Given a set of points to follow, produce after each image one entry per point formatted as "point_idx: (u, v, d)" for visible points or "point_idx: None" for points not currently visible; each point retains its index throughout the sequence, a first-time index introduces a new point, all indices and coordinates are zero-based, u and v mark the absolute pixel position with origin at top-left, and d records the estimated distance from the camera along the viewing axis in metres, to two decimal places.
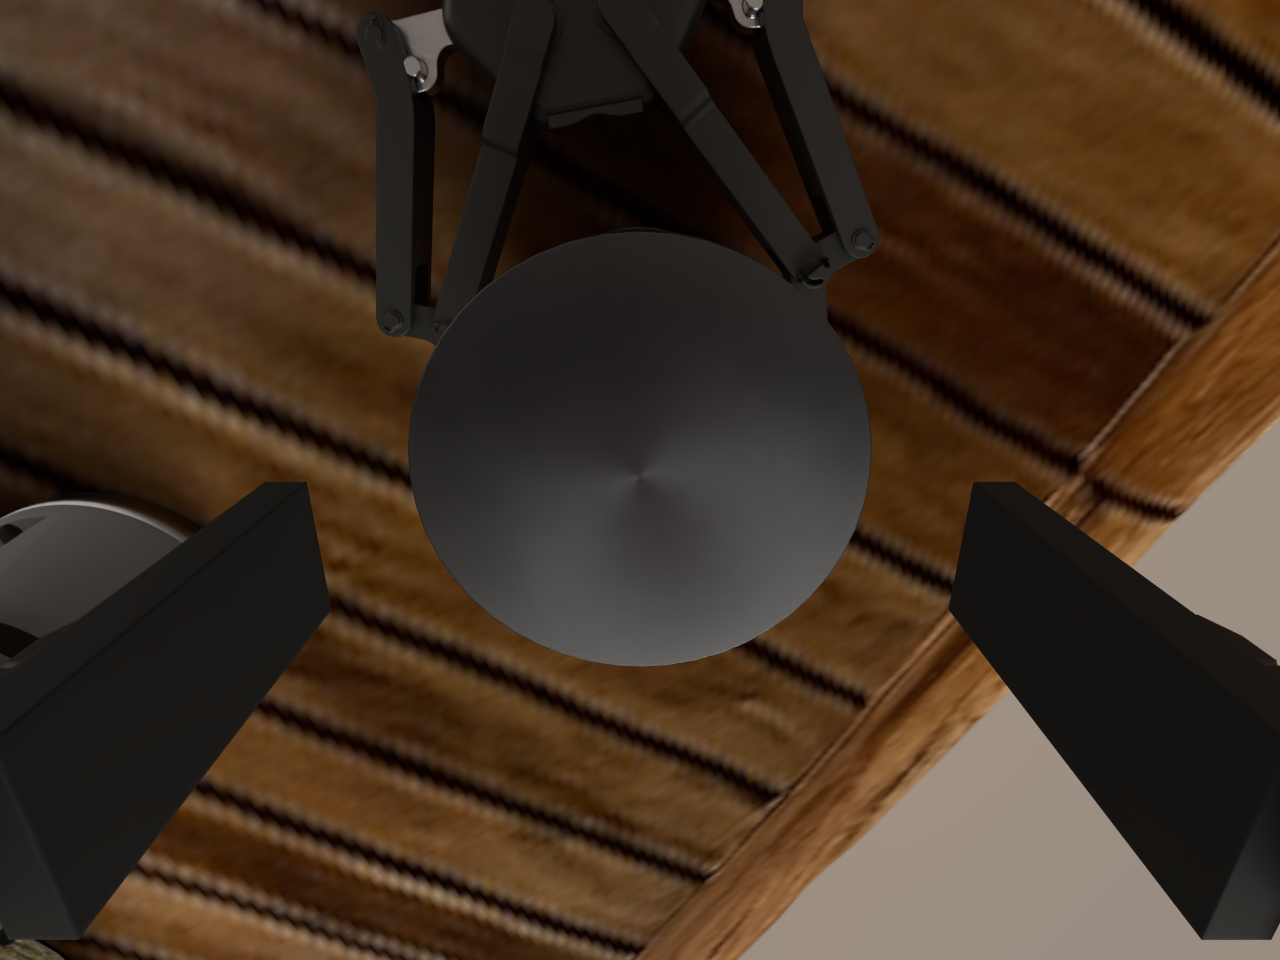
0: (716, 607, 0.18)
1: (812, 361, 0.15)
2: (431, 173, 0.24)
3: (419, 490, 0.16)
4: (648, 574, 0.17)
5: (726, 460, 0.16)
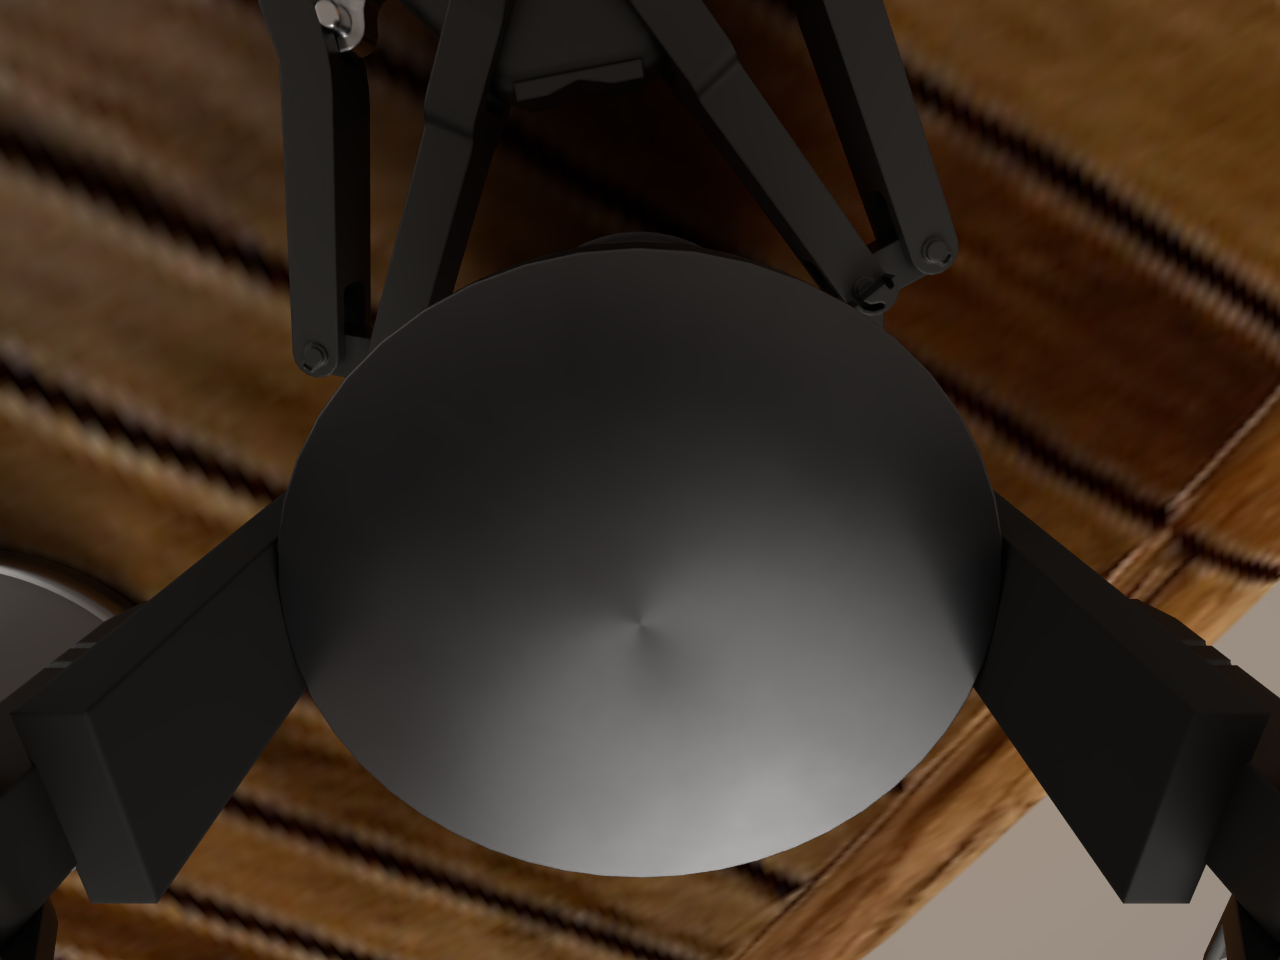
0: (753, 802, 0.12)
1: (917, 455, 0.09)
2: (366, 162, 0.19)
3: (299, 644, 0.11)
4: (652, 759, 0.11)
5: (774, 601, 0.10)
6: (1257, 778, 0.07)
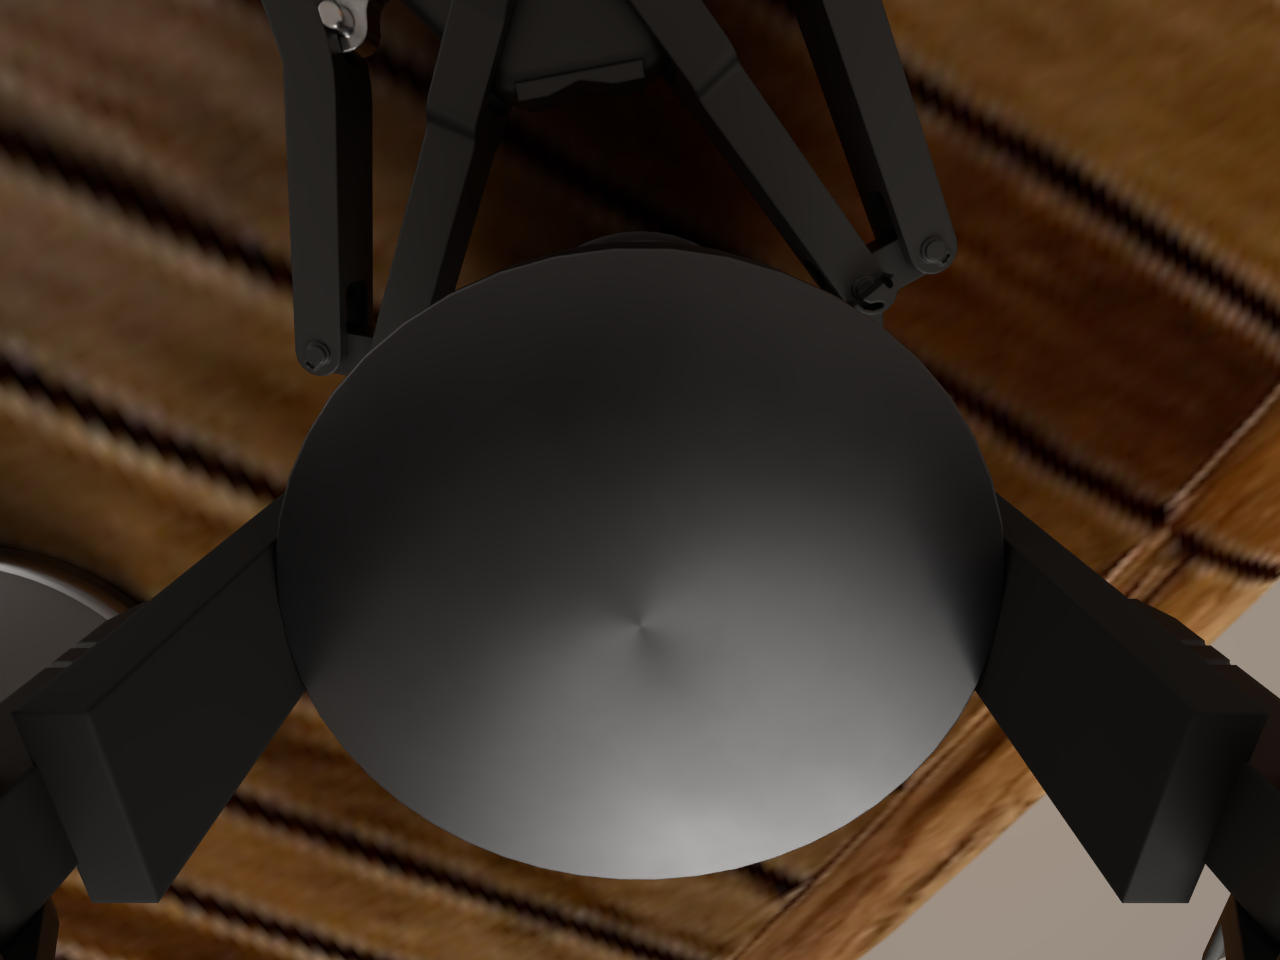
0: (911, 620, 0.10)
1: (584, 314, 0.09)
2: (368, 162, 0.19)
3: (523, 857, 0.12)
4: (795, 681, 0.11)
5: (680, 506, 0.10)
6: (1255, 777, 0.07)
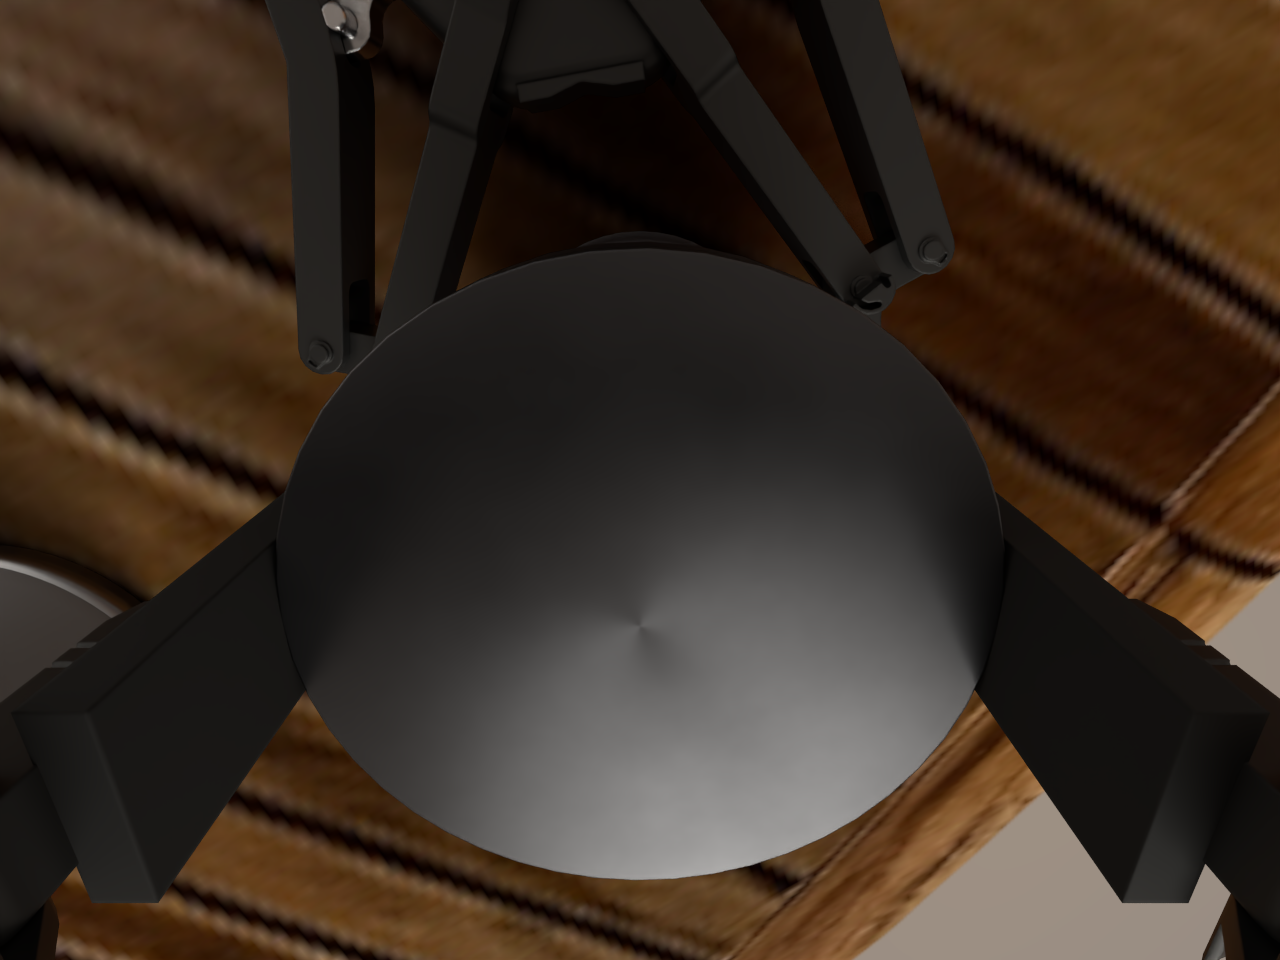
0: (774, 387, 0.09)
1: (329, 539, 0.10)
2: (371, 162, 0.19)
3: (834, 824, 0.12)
4: (781, 524, 0.10)
5: (535, 543, 0.10)
6: (1255, 777, 0.07)
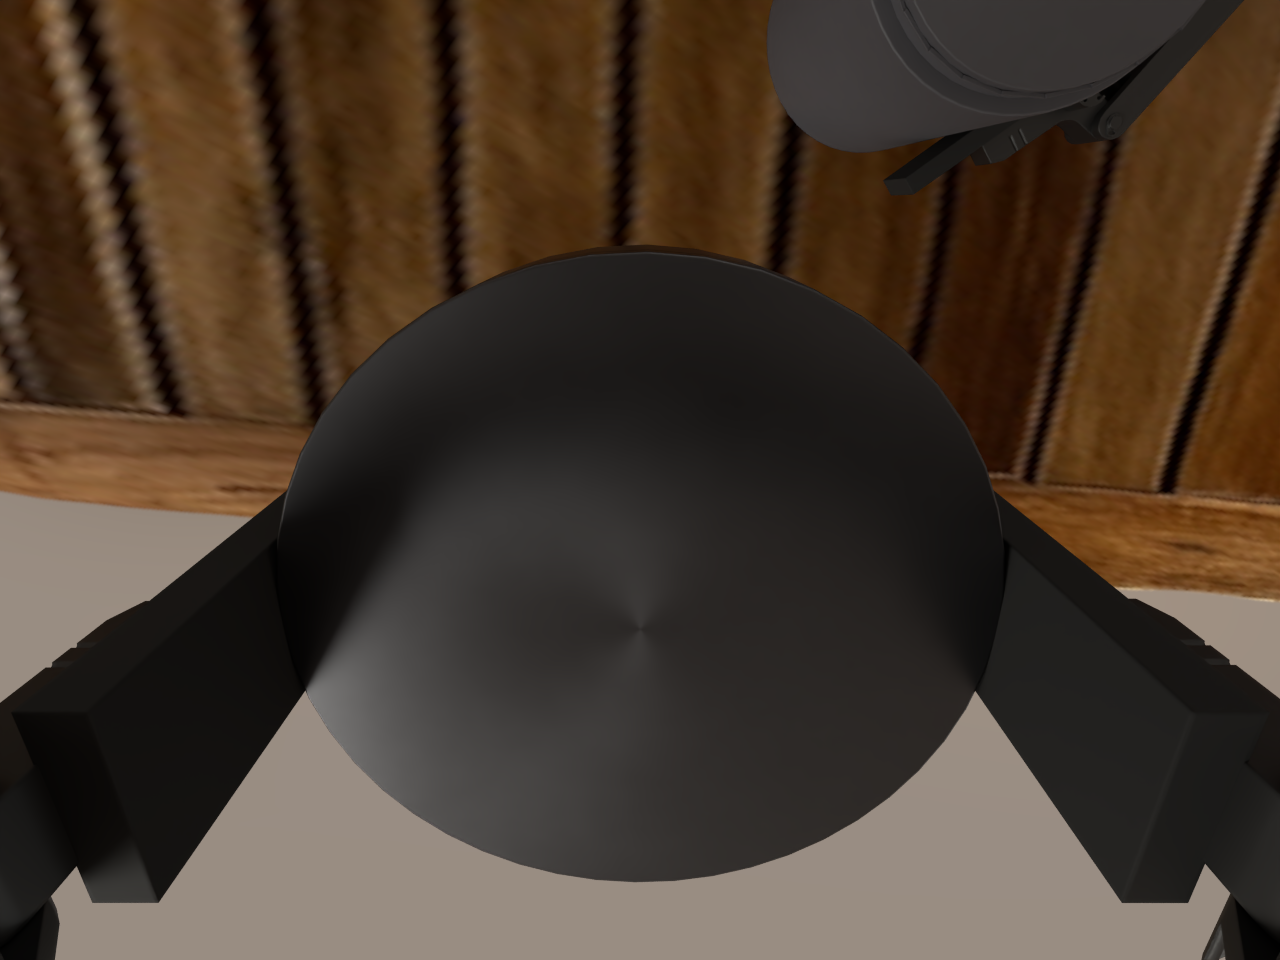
0: (774, 391, 0.09)
1: (330, 542, 0.10)
2: None
3: (834, 826, 0.12)
4: (781, 527, 0.10)
5: (535, 546, 0.10)
6: (1255, 777, 0.07)
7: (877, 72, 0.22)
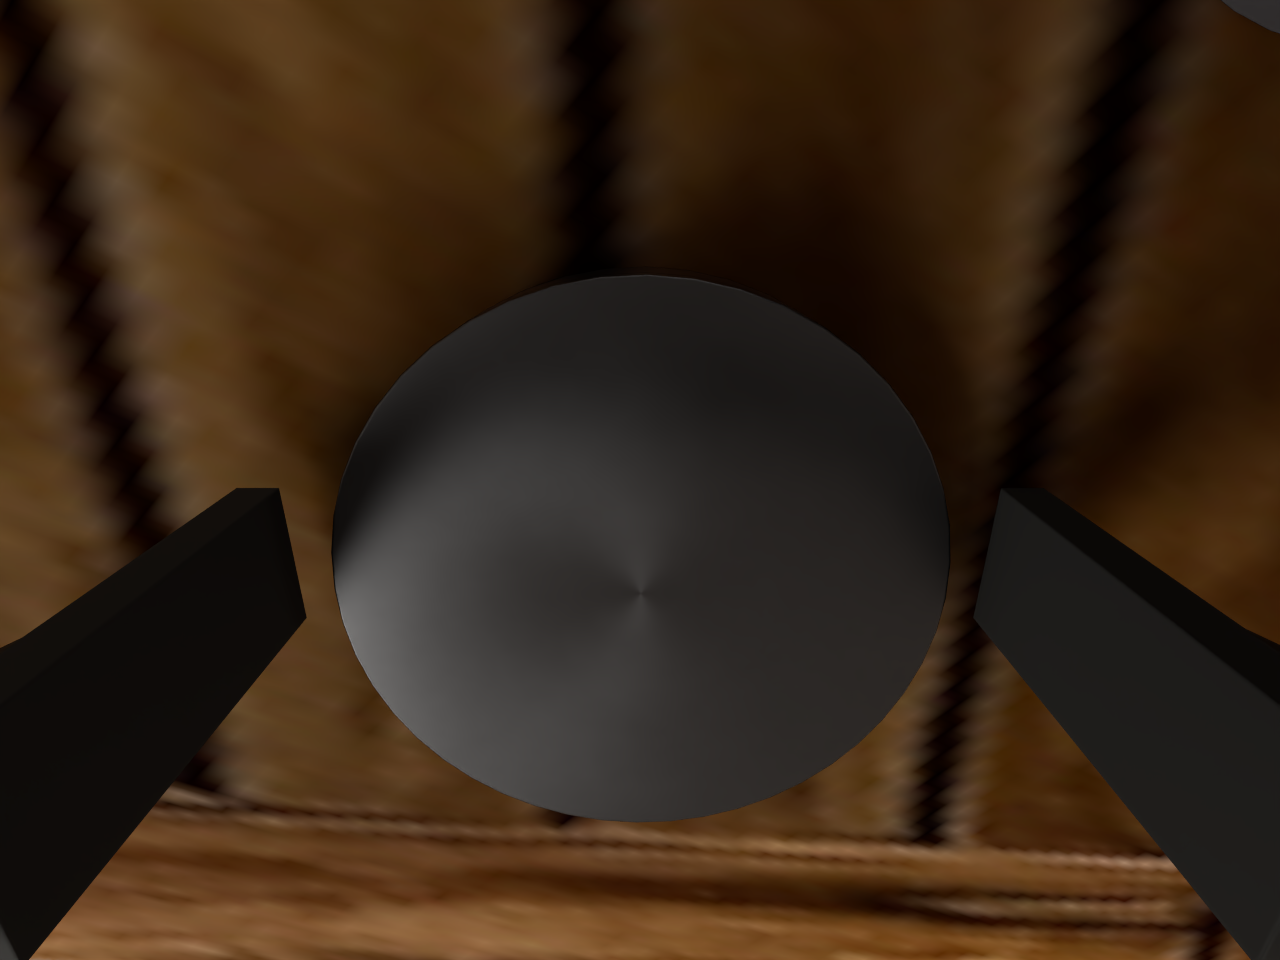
0: (752, 389, 0.11)
1: (378, 517, 0.12)
2: None
3: (810, 770, 0.14)
4: (759, 504, 0.12)
5: (552, 521, 0.12)
6: None
7: None
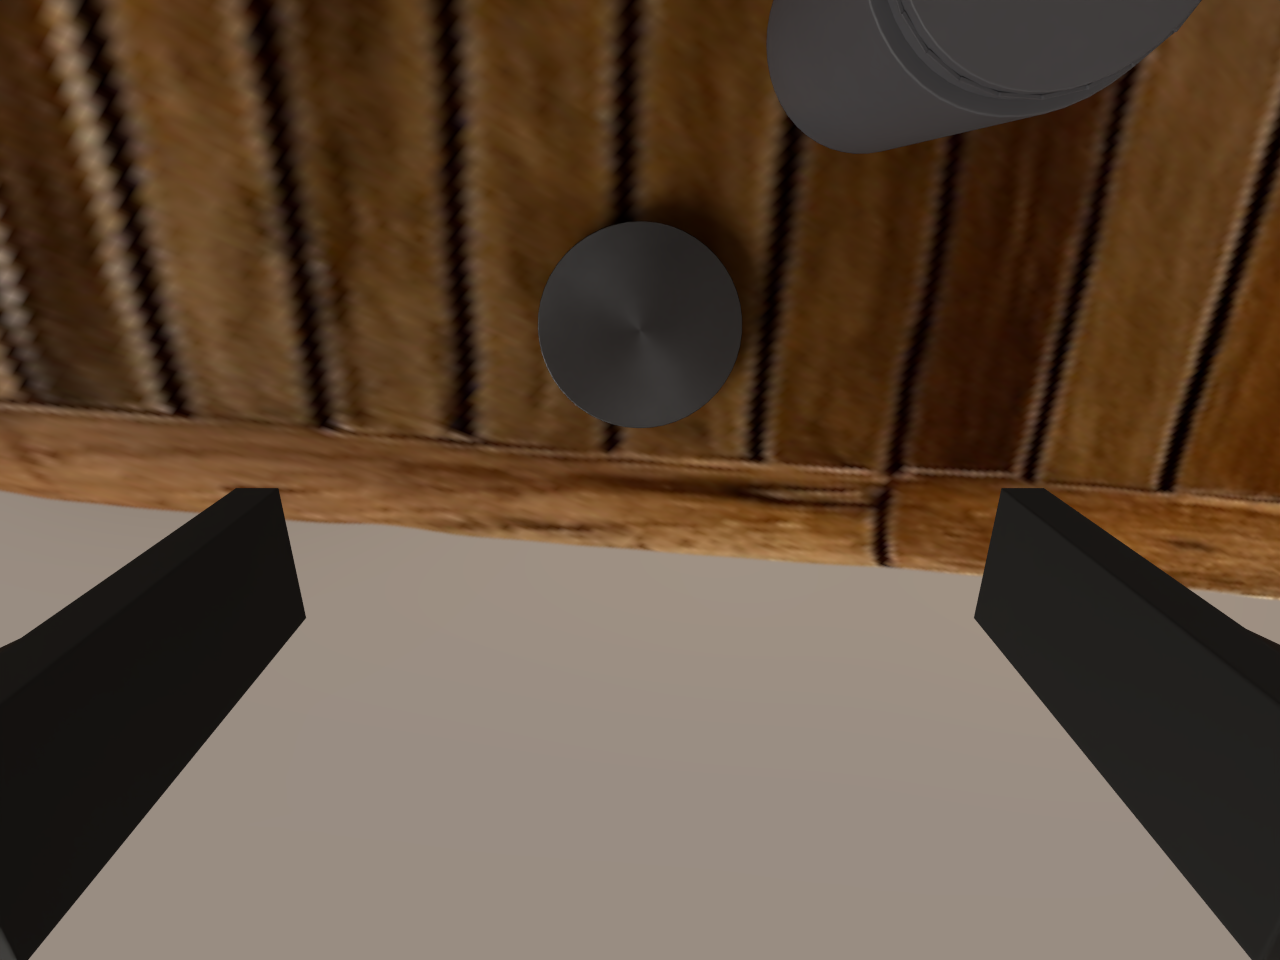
0: (674, 257, 0.35)
1: (555, 302, 0.36)
2: None
3: (700, 403, 0.38)
4: (678, 297, 0.36)
5: (611, 303, 0.36)
6: None
7: (876, 74, 0.22)
